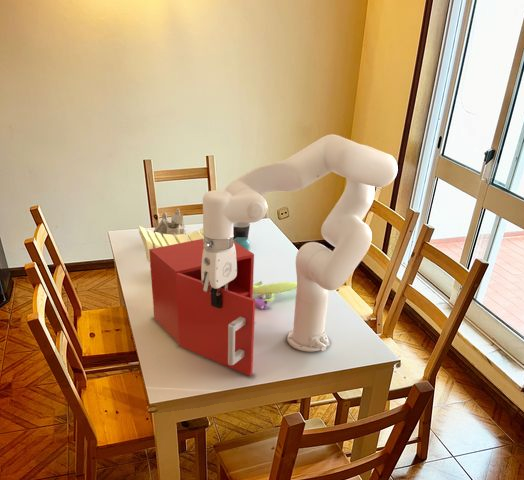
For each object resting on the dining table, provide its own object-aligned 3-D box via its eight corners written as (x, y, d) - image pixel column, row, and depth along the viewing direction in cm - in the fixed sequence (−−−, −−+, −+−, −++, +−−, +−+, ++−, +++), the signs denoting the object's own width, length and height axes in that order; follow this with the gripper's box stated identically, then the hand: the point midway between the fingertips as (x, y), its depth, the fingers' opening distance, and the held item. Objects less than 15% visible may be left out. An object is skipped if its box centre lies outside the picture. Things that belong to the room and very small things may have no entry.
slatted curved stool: (150, 289, 196) (147, 242, 186) (142, 271, 208) (138, 225, 199) (231, 279, 206) (231, 233, 196) (218, 262, 218) (218, 218, 208)
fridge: (251, 323, 179) (254, 254, 166) (179, 344, 167) (175, 271, 154) (223, 300, 192) (223, 234, 178) (154, 318, 179) (149, 249, 166)
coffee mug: (248, 250, 229) (249, 227, 224) (228, 249, 229) (228, 226, 224) (249, 240, 239) (250, 217, 234) (229, 239, 239) (230, 217, 233)
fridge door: (237, 386, 150) (239, 309, 137) (165, 354, 161) (161, 280, 149) (252, 374, 155) (255, 299, 142) (181, 344, 166) (178, 272, 153)
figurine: (321, 315, 185) (323, 300, 182) (242, 309, 186) (243, 294, 183) (320, 291, 201) (322, 276, 198) (247, 285, 202) (248, 271, 199)
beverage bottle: (247, 286, 201) (248, 234, 191) (229, 283, 202) (229, 231, 192) (251, 278, 207) (252, 227, 196) (233, 276, 208) (234, 225, 197)
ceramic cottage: (157, 236, 238) (156, 202, 229) (194, 241, 236) (194, 208, 227) (144, 251, 226) (141, 217, 216) (182, 258, 223) (182, 223, 214)
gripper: (211, 254, 132) (212, 321, 142) (247, 235, 143) (246, 298, 153) (187, 246, 136) (189, 312, 146) (224, 229, 147) (224, 291, 157)
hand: (218, 305), depth 149 cm, fingers closed
